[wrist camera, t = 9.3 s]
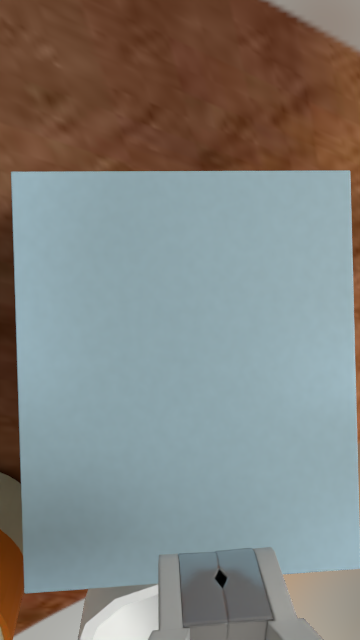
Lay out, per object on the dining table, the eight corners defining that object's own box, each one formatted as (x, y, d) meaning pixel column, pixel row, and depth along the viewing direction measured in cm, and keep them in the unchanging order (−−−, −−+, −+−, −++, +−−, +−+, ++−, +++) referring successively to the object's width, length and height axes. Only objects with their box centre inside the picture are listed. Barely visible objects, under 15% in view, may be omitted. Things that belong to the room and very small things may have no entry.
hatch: (350, 555, 15) (361, 569, 14) (31, 578, 14) (23, 594, 13) (340, 178, 15) (350, 169, 14) (19, 179, 14) (10, 171, 13)
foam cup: (109, 503, 30) (76, 709, 18) (111, 413, 27) (73, 585, 15) (215, 504, 31) (254, 702, 19) (228, 417, 28) (284, 582, 16)
